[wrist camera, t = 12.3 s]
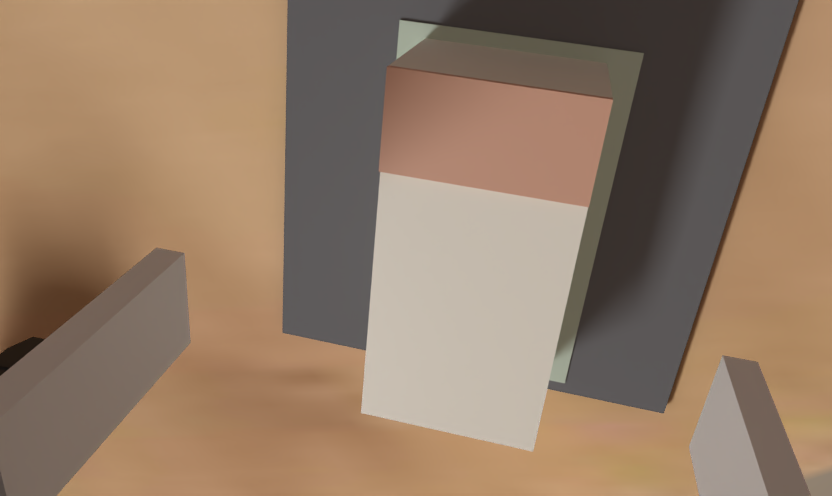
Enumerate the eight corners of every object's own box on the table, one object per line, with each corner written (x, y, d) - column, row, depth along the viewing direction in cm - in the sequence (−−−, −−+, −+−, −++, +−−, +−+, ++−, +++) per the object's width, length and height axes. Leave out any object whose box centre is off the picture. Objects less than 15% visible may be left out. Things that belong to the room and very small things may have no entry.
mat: (297, -299, 20) (291, -304, 20) (878, -260, 18) (886, -265, 18) (286, 327, 30) (281, 334, 30) (662, 407, 28) (664, 414, 27)
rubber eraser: (541, 366, 28) (532, 455, 23) (395, 336, 29) (359, 416, 24) (607, 63, 22) (613, 99, 18) (425, 37, 23) (386, 66, 19)
